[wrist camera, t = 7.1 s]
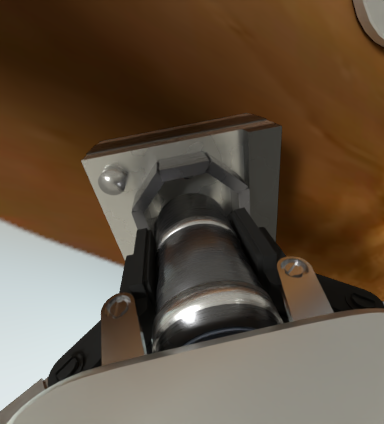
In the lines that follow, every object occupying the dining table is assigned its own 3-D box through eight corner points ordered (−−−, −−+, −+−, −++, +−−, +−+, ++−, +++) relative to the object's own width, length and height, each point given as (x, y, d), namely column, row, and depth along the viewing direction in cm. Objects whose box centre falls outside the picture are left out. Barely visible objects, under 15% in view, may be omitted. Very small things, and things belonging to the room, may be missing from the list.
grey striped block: (247, 112, 18) (293, 128, 12) (249, 207, 22) (283, 254, 16) (99, 140, 17) (66, 173, 11) (133, 231, 22) (123, 288, 16)
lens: (223, 184, 13) (298, 303, 6) (228, 243, 15) (287, 377, 8) (146, 200, 13) (132, 340, 6) (164, 257, 15) (169, 405, 8)
